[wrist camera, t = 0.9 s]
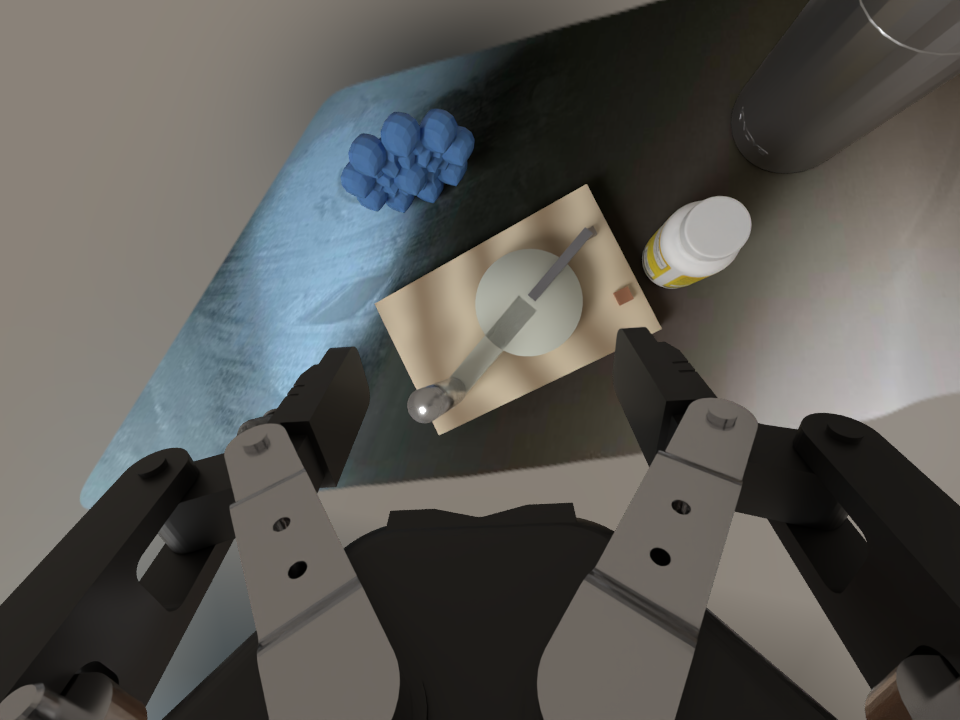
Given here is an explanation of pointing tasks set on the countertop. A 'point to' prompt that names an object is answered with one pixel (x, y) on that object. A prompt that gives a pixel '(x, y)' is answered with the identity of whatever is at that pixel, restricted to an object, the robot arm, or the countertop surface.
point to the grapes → (407, 160)
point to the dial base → (455, 328)
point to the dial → (512, 320)
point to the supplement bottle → (696, 242)
